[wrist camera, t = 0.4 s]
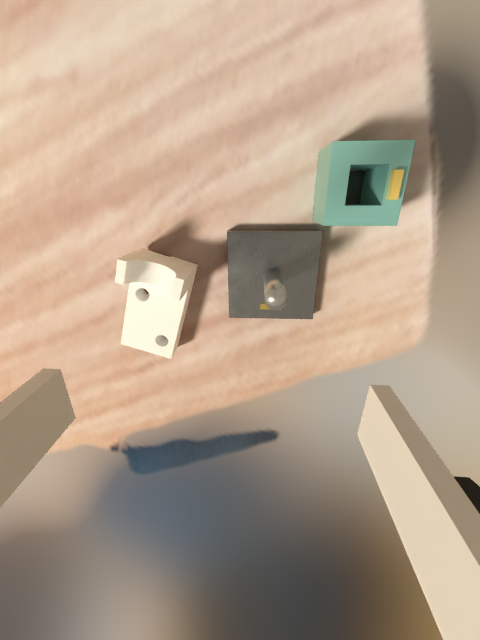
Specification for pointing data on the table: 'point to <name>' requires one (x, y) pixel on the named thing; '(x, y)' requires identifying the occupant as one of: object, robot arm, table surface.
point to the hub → (378, 187)
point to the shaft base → (273, 256)
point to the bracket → (155, 300)
